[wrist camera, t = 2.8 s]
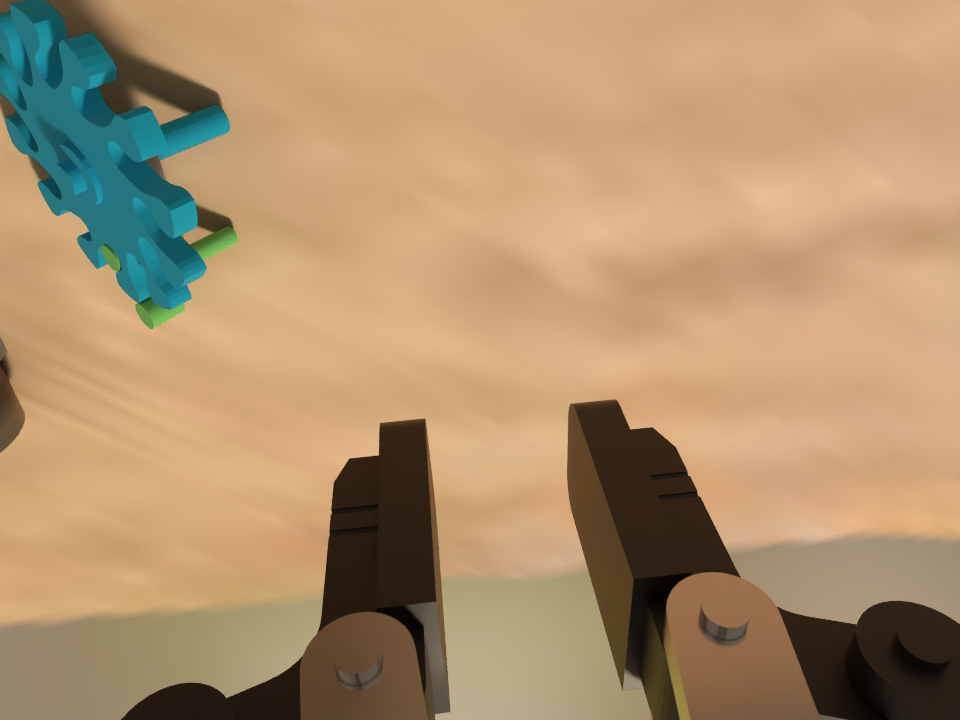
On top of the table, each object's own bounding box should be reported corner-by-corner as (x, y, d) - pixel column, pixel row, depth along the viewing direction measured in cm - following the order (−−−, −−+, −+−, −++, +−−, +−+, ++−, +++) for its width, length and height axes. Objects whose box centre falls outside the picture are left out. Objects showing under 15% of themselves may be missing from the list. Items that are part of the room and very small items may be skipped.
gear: (-83, -20, 22) (92, 52, 18) (99, -57, 26) (286, -6, 21) (57, 281, 30) (207, 388, 25) (184, 220, 33) (337, 305, 28)
